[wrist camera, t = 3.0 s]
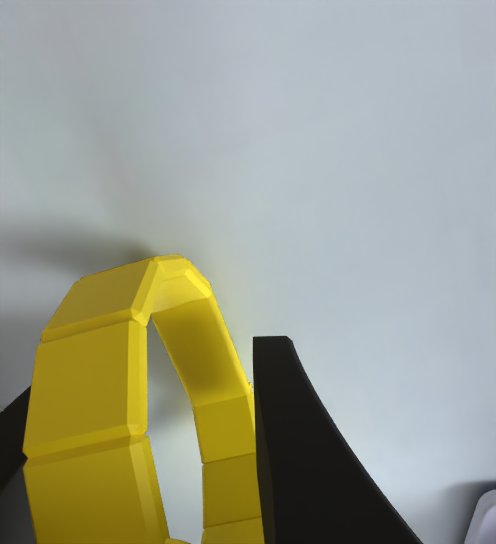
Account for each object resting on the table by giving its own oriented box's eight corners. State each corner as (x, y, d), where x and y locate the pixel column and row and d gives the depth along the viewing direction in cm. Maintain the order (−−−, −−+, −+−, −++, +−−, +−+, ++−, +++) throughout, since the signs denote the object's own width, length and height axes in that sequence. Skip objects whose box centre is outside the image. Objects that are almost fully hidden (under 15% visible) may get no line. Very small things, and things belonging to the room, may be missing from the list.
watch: (298, 418, 11) (336, 770, 6) (190, 442, 12) (141, 788, 6) (213, 192, 8) (147, 489, 3) (75, 234, 9) (-176, 554, 4)
